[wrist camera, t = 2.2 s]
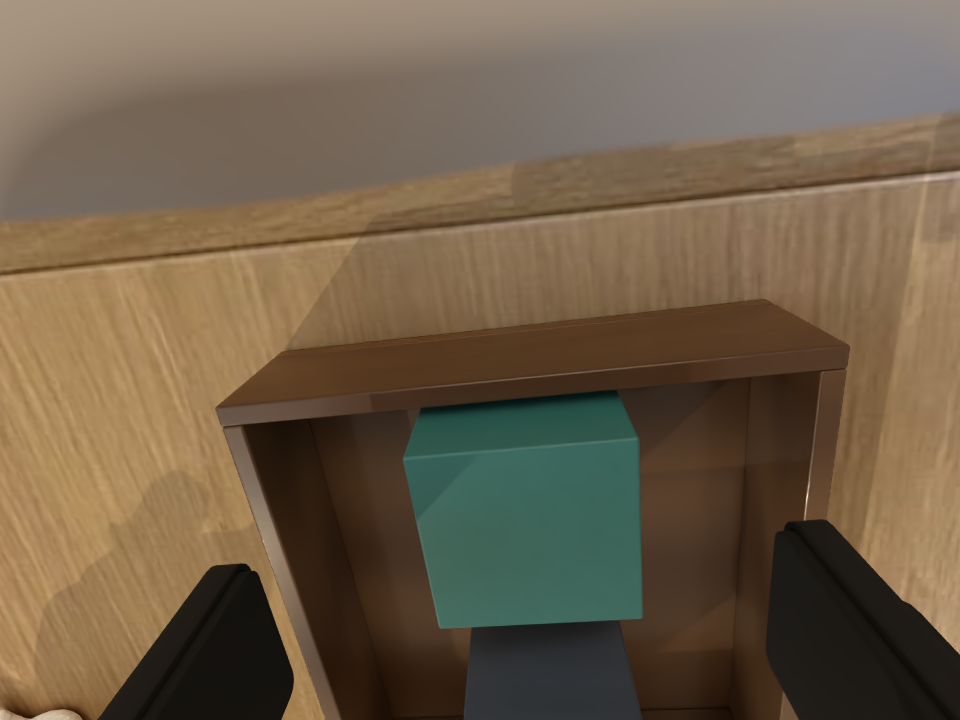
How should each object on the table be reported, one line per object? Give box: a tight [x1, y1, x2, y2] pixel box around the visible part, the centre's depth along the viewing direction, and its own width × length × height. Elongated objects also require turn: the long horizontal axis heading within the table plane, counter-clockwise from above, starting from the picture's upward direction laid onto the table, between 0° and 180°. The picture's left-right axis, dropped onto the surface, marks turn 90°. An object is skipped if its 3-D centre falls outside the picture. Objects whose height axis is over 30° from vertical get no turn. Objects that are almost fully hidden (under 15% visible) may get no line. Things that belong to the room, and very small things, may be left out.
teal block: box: [403, 390, 643, 629], centre depth 12 cm, size 4×4×4 cm
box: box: [216, 299, 850, 720], centre depth 15 cm, size 15×13×4 cm
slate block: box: [464, 620, 643, 720], centre depth 15 cm, size 4×4×4 cm
